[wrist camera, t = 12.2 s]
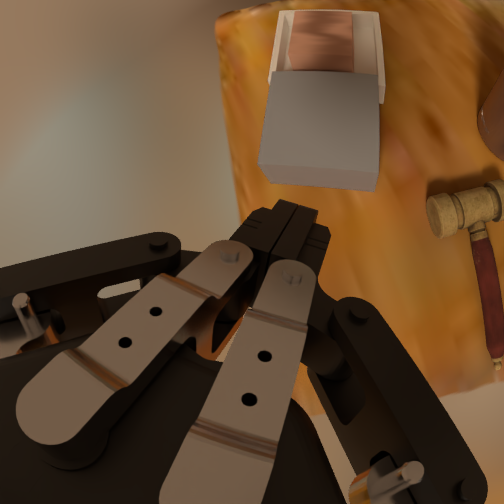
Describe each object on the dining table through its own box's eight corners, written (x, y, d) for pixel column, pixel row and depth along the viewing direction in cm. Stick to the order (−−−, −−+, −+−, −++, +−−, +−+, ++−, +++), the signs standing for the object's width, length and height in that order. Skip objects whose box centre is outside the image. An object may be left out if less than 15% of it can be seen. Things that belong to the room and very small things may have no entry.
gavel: (538, 359, 23) (468, 390, 26) (521, 351, 28) (455, 377, 30) (506, 174, 26) (432, 192, 28) (490, 184, 30) (422, 201, 33)
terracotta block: (353, 91, 35) (354, 47, 36) (351, 55, 29) (351, 11, 29) (298, 88, 37) (303, 45, 38) (287, 53, 31) (294, 10, 31)
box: (378, 30, 36) (378, 12, 32) (383, 103, 35) (385, 85, 31) (285, 28, 40) (279, 10, 36) (275, 98, 39) (267, 81, 35)
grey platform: (375, 103, 35) (377, 74, 29) (374, 192, 34) (378, 172, 28) (282, 98, 39) (272, 71, 33) (270, 183, 38) (257, 163, 32)
